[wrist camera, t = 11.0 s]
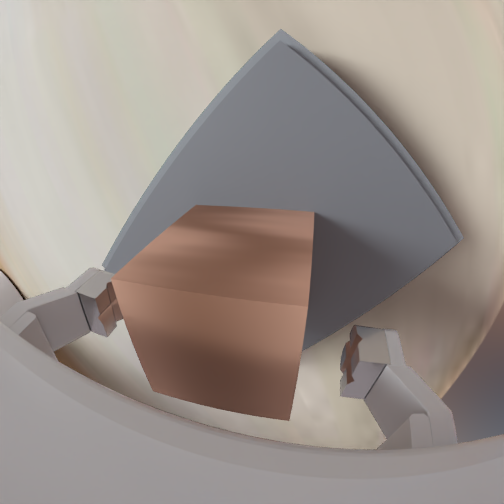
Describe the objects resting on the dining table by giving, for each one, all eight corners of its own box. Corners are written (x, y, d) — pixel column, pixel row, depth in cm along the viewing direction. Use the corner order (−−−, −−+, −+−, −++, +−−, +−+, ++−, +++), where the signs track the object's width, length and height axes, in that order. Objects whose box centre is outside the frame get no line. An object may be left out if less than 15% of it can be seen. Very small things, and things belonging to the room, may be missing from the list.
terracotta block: (205, 299, 14) (153, 390, 9) (195, 204, 12) (110, 278, 7) (304, 311, 13) (289, 420, 8) (314, 211, 11) (308, 306, 6)
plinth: (253, 347, 21) (240, 388, 17) (130, 241, 19) (96, 270, 15) (439, 213, 13) (469, 243, 10) (289, 47, 11) (278, 24, 8)
